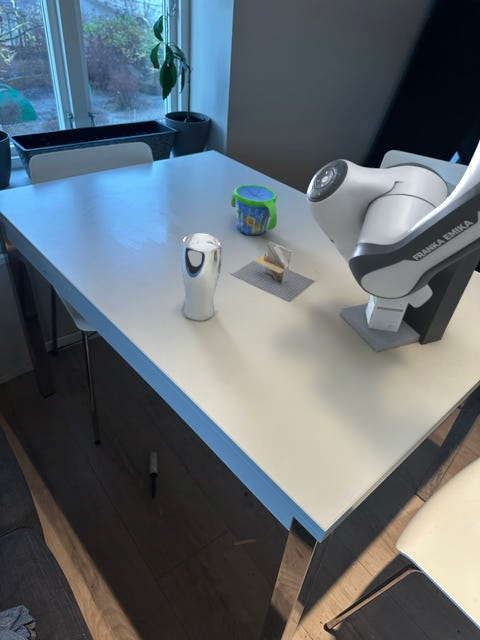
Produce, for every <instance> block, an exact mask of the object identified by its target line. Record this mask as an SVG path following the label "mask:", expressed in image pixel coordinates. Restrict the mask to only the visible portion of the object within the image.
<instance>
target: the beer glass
mask: <svg viewBox="0 0 480 640" xmlns="http://www.w3.org/2000/svg"><path fill="white" fill-rule="evenodd" d="M222 243H223V242H222V240H221V239H220V238H219V237H217V236H215V235H214V234H209V233H205V232H204V233H203V232H196V233H191V234H188V235H186V236H185V237H184V239H183V245H182V254H181V272H182V281H183V286H184V292H185V294H184V295H185V297H184V302H183V305H182V306H183V307H182V314H183V316H185V317H186V318H187V319H189V320H192V321H196V322H197V321H198V322H203V321H207V320H209V319H212V318H213V317H214V315H215V312H216V311H215V303H214V299H215V298H214V296H215V291H216V288H217V286H218V285H217V284H218V282H219V278H220V274H221V269H222Z"/></svg>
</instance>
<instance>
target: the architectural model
mask: <svg viewBox="0 0 480 640" xmlns="http://www.w3.org/2000/svg"><path fill="white" fill-rule="evenodd" d="M291 256H292V250H291V249H288V248H286V247H285V246H282V245H279V244H277V243H275V242H272V241H269V242H268V245H267V253H265V254H264V255H260V256H258V257H256V258H255V259H254V260H252V261H250V262H249V263H247V264H245V265H244V266H243V267H240V268H239V269H237V270H236V271H234V272H233V273H231V274H230V275H231V276H233V277H236V278H237V279H240V280H242V281H244V282H245V283H248V284H250V285H252V286H255V287H257V288H259V289H260V290H263V291H264V292H267V293H269V294H271V295H273V296H276V297H278V298H280V299H282V300H284V301H285V302H288V303H290V302H291V301H293V300H294V299H296V297H298V296H299V295H300V294H301V293H303V292H304V291H305V290H306V289H307V288H309V287H310V286H311V285H312V284H314V283H315V282H316V280H314V279H312V278H310V277H307V276H305V275H303V274H300V273H298V272H295V271H294V270H291V269H289V268H290V261H291Z"/></svg>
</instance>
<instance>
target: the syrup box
mask: <svg viewBox="0 0 480 640" xmlns="http://www.w3.org/2000/svg"><path fill="white" fill-rule="evenodd" d="M367 303H368V304H367ZM367 303H366V304H367V307H366V311H365V313H366V318H367V323H368V328H371V329H376V330H382V331H390V332H397V331H398V328H399V326H400V323H401V321H402V318H403V316H404V313H405V310H406V308H407V305H408V302H407V301H406V300H405V299H403V298H398V299H385V298H379V297H376V296H373V295H371V294H369V298H368V301H367Z"/></svg>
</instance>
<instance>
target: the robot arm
mask: <svg viewBox="0 0 480 640" xmlns="http://www.w3.org/2000/svg"><path fill="white" fill-rule="evenodd" d="M456 186H457V187H456V188H455V190H454V191H453V192H452V193H451V195H450V196H449V197H448V198H447V195H448V187H447V184H446V182H445V179H444V178H443V176H442V175H440V173H439V172H438V171H436V170H435V169H433V168H432V167H430V166H427V165H426V164H423V163H419V162H401V163H396V164H393V165H389V166H386V167H385V166H384V167H382V168H375V167H365V166H361V165H358V164H356V163H354V162H352V161H350V160H347V159H336V160H332V161H330V162H328V163H326V164H325V165H324V166H323V167H321V168H320V169H319V170H318V171H317V172H316V173H315V174H314V176H313V177H312V178H311V181H310V183H309V185H308V188H307V191H306V194H305V200H306V204H307V207H308V210H309V212H310V214H311V216H312V217H313V219H314V221H315V222H316V224H317V225H318V227H319V228H320V230H321V231H322V232H323V234H325V235H326V237H327V238H328V239H329V241H330V242H331V243H332V244H333V245H334V247H335V249H336V250H337V251H338V253H339V255H341V257H342V258H343V259H344V260H345V262H346V263H347V264H348V268H349V269H350V270H349V271H350V272H351V274H352V276H353V278H354V280H355V282H357V284H358V286H359V287H360V288H361V289H362V290H363V291H364V292H365V293H367V294H368V295H373V296H376V297H379V298H385V299H398V298H403V299H405V300H406V301H407V302H408V303H409V304H411V305H412V306H413V307H420V306H421V305H422V304H424V303H425V302H426V301H427V300H428V299H429V298H430V297H431V296H432V291H431V289H430V287H429V286H428V284H427V283H428V282H429V280H430V279H431V278H432V277H433V276H434V275H435V274H436V273H438V272H439V271H441V270H442V269H444V268H446V267H447V266H449V265H451V264H453V263H454V262H456V261H458V260H459V259H461V258H463V257H464V256H466V255H468V254H469V253H471V252H473V251H474V250H476V249H478V248H480V140H479V142H478V144H477V146H476V149H475V151H474V152H473V155H472V157H471V160H470V162H469V163H468V166H467V168H466V170H465V172H464V174H463V176H462V177H461V179H460V180H459V182H458V184H457V185H456Z"/></svg>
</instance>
